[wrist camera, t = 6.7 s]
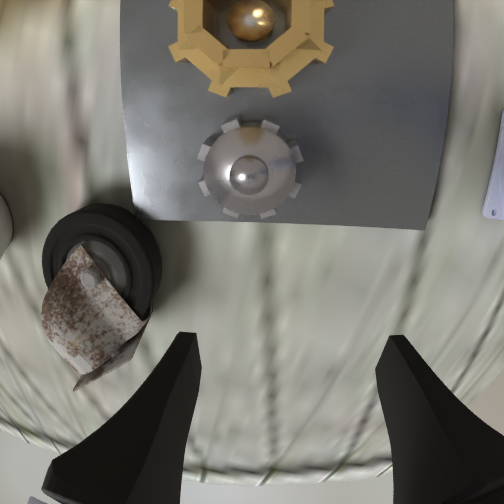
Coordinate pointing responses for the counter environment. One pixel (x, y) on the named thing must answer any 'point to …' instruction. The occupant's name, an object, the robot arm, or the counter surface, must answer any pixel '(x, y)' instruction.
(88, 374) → the caster wheel
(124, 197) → the counter surface
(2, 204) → the cupcake
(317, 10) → the planet gear
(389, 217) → the carrier
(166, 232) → the counter surface
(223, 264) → the counter surface
